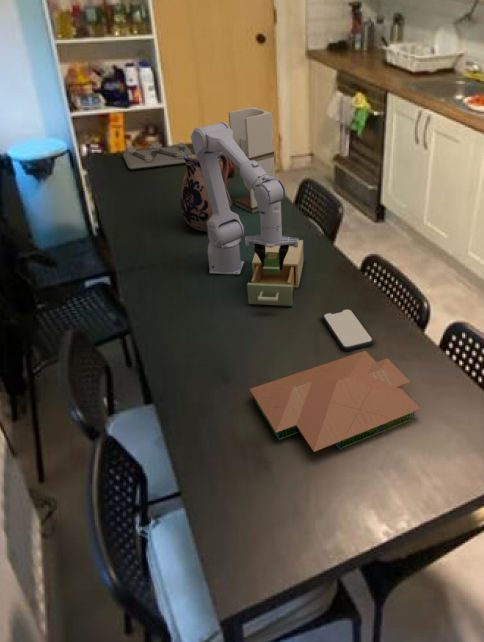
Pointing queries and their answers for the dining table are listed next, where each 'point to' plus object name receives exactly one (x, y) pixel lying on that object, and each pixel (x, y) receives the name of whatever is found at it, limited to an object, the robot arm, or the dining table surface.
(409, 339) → the dining table surface
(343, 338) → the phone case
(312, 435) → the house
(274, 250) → the cabinet
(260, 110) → the gray hollow column
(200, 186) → the ceramic pitcher
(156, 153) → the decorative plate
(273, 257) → the green box
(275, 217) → the robot arm
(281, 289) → the drawer
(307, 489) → the dining table surface
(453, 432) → the dining table surface
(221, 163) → the beverage can
